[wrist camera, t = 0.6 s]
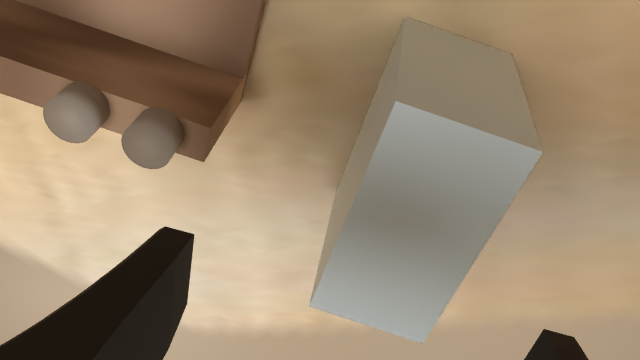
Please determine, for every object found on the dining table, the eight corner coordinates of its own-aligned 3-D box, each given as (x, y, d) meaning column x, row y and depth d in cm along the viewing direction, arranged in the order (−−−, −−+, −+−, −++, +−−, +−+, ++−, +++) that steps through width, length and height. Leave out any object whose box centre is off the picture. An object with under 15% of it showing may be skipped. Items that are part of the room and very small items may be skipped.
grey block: (531, 60, 18) (570, 161, 13) (440, 225, 22) (443, 350, 17) (405, 15, 18) (395, 101, 13) (336, 189, 22) (309, 306, 17)
